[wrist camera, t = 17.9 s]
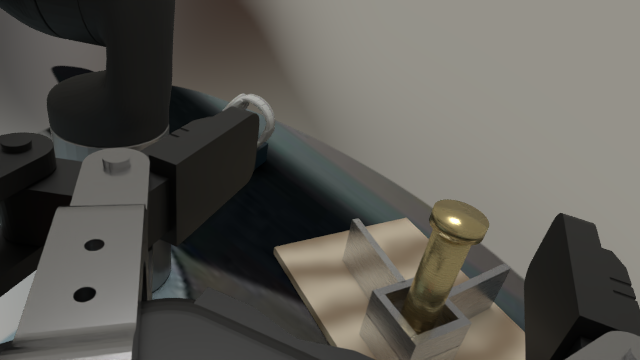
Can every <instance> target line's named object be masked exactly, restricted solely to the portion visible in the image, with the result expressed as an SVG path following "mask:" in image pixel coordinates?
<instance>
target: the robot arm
mask: <svg viewBox="0 0 640 360" xmlns="http://www.w3.org/2000/svg"><path fill="white" fill-rule="evenodd" d="M0 8H1V9H3V10H4V11H6V12H7V13H8V14H10V15H11V16H13V17H14V18H16V19H17V20H19V21H20V22H22V23H24V24H25V25H27V26H29V27H31V28H33V29H35V30H38V31H40V32H43V33H45V34H48V35H51V36H55V37H59V38H63V39H69V40H74V41H79V42H84V43H89V44H94V45H99V46H104V47H106V55H107V61H106V70H104V71H98V72H92V73H86V74H81V75H78V76H74V77H71V78H69V79H66V80H64V81H62V82H60V83H59V84H57V85H55V86H54V87H53V88H52V89H51V91H50V92H49V94H48V97H47V111H48V117H49V123H50V129H51V135H52V140H51V139H49V138H48V137H46V136H43V135H40V134H35V133H11V134H6V135H1V136H0V297H1V296H2V295H4V294H5V293H6V292H8V291H9V290H10V289H12V288H13V287H14V286H15V285H17V284H18V283H19V282H21V281H22V280H23V279H25V278H26V277H27V276H29V275H30V274H31V273H33V272H34V271H35V270H37V271H36V274H35V277H34V281H33V283H32V286H31V289H30V292H29V295H28V298H27V301H26V305H25V308H24V310H23V314H22V317H21V320H20V323H19V326H18V329H17V332H16V335H15V338H14V340H12V341H9V342H5V343H2V344H0V360H375V359H373V358H371V357H368V356H366V355H364V354H361V353H359V352H357V351H355V350H350V349H345V348H340V347H335V346H330V345H325V344H320V343H315V342H310V341H305V340H301V339H298V338H296V337H294V336H292V335H291V334H289V333H288V332H287V331H285V330H284V329H283V328H281V327H280V326H279V325H277V324H276V323H275V322H273V321H272V320H271V319H269V318H268V317H267V316H265V315H264V314H263V313H261V312H260V311H259V310H257V309H256V308H255V307H253V306H251V305H249V304H247V303H244V302H242V301H240V300H237V299H235V298H233V297H230V296H228V295H226V294H224V293H221V292H219V291H217V290H214V289H212V288H210V287H207V289H206V290H205V291H204V292H203V293H202V294H201V295H200V296H199V298H198V299H197V300H193V299H183V298H163V299H154V300H152V292H154V291H155V290H156V289H158V288H159V287H160V286H161V285H162V284H163V283H164V282H165V281H166V279H167V278H168V276H169V274H170V270H171V244H172V245H174V246H176V247H177V246H178V245H179V244H180V243H181V242H182V241H184V240H185V239H186V238H187V237H188V236H189V235H190V234H191V233H192V232H193V231H195V230H196V229H197V228H198V227H199V226H200V225H201V224H202V223H203V222H205V221H206V220H207V219H208V218H209V217H210V216H211V215H212V214H213V213H214V212H216V211H217V210H218V209H219V208H220V207H221V206H222V205H223V204H224V203H225V202H227V201H228V200H229V199H230V198H231V197H232V196H233V195H234V194H235V193H237V192H238V191H239V190H240V189H241V188H242V187H243V186H244V185H245V184H246V183H247V182H248V181H249V179H250V178H251V176H252V174H253V171H254V168H255V162H256V152H257V142H258V132H259V117H258V115H257V114H256V113H252V112H249V111H246V110H243V109H240V108H237V107H234V106H231V107H229V108H227V109H225V110H224V111H222V112H220V113H219V114H217V115H215V116H214V117H207V118H203V119H198V120H194V121H192V122H190V123H188V124H187V125H185V126H183V127H181V130H180V129H178V130H176V131H174V132H173V133H171V135H169V102H170V94H171V86H172V54H173V30H174V12H175V0H0ZM52 141H53V142H52ZM635 299H636V296H635V293H634V290H633V288H632V287H631V281H630V278H629V275H628V272H627V269H626V267H625V266H624V265H623V264H622V263H621V261H620V260H619V259H618V258H617V257H616V255H615V254H614V253H613V252H612V251H610V250H606V249H603V248H601V244H600V240H599V237H598V232H597V229H596V226H595V224H594V223H590V222H587V221H585V220H581V219H578V218H575V217H572V216H569V215H566V214H563V213H560V214H558V215H557V216H556V217H555V219H554V221H553V222H552V224H551V226H550V228H549V230H548V231H547V233H546V235H545V237H544V239H543V241H542V243H541V244H540V246H539V248H538V250H537V252H536V253H535V255H534V257H533V259H532V261H531V263H530V265H529V268H528V271H527V274H526V277H525V283H524V303H525V360H640V309H639V305H638V303H637V301H635Z"/></svg>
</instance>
